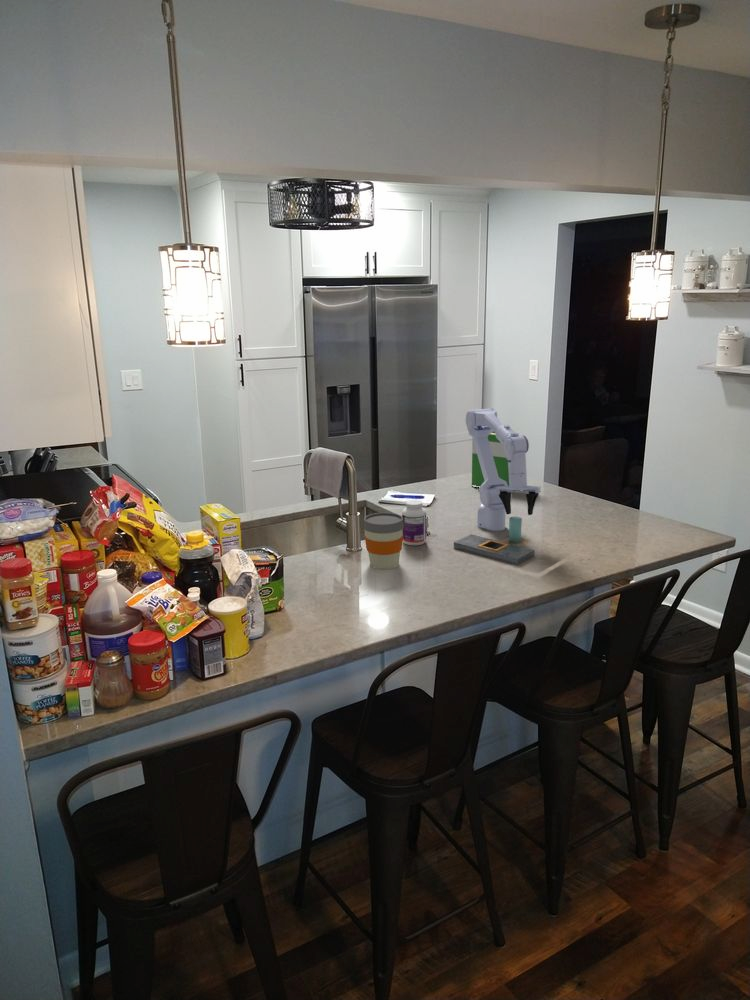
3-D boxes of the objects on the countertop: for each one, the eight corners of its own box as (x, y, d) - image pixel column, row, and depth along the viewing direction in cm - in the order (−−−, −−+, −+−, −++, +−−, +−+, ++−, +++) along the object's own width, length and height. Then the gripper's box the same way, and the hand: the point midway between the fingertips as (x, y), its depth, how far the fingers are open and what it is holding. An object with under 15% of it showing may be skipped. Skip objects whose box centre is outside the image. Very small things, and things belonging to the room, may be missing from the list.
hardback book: (516, 489, 303) (518, 433, 296) (508, 493, 297) (510, 436, 291) (480, 483, 313) (481, 429, 307) (471, 487, 308) (472, 432, 301)
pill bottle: (409, 537, 247) (409, 497, 243) (430, 541, 243) (430, 500, 239) (398, 544, 240) (397, 503, 236) (419, 548, 236) (419, 506, 232)
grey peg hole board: (453, 550, 233) (453, 541, 232) (471, 542, 240) (471, 533, 239) (517, 568, 217) (517, 557, 217) (534, 558, 225) (534, 549, 224)
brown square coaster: (497, 544, 238) (498, 541, 237) (510, 538, 243) (510, 535, 243) (518, 549, 233) (518, 547, 232) (531, 543, 238) (531, 540, 238)
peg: (506, 541, 238) (507, 518, 235) (512, 538, 240) (513, 515, 238) (516, 544, 235) (517, 521, 233) (523, 540, 238) (524, 518, 236)
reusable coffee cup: (370, 573, 216) (369, 526, 212) (360, 559, 228) (358, 514, 223) (409, 568, 219) (409, 522, 215) (397, 554, 231) (397, 510, 226)
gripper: (491, 474, 233) (494, 515, 235) (533, 474, 225) (535, 516, 227) (500, 472, 239) (502, 512, 241) (542, 472, 231) (543, 513, 233)
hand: (519, 514), depth 234 cm, fingers open, 7 cm apart
